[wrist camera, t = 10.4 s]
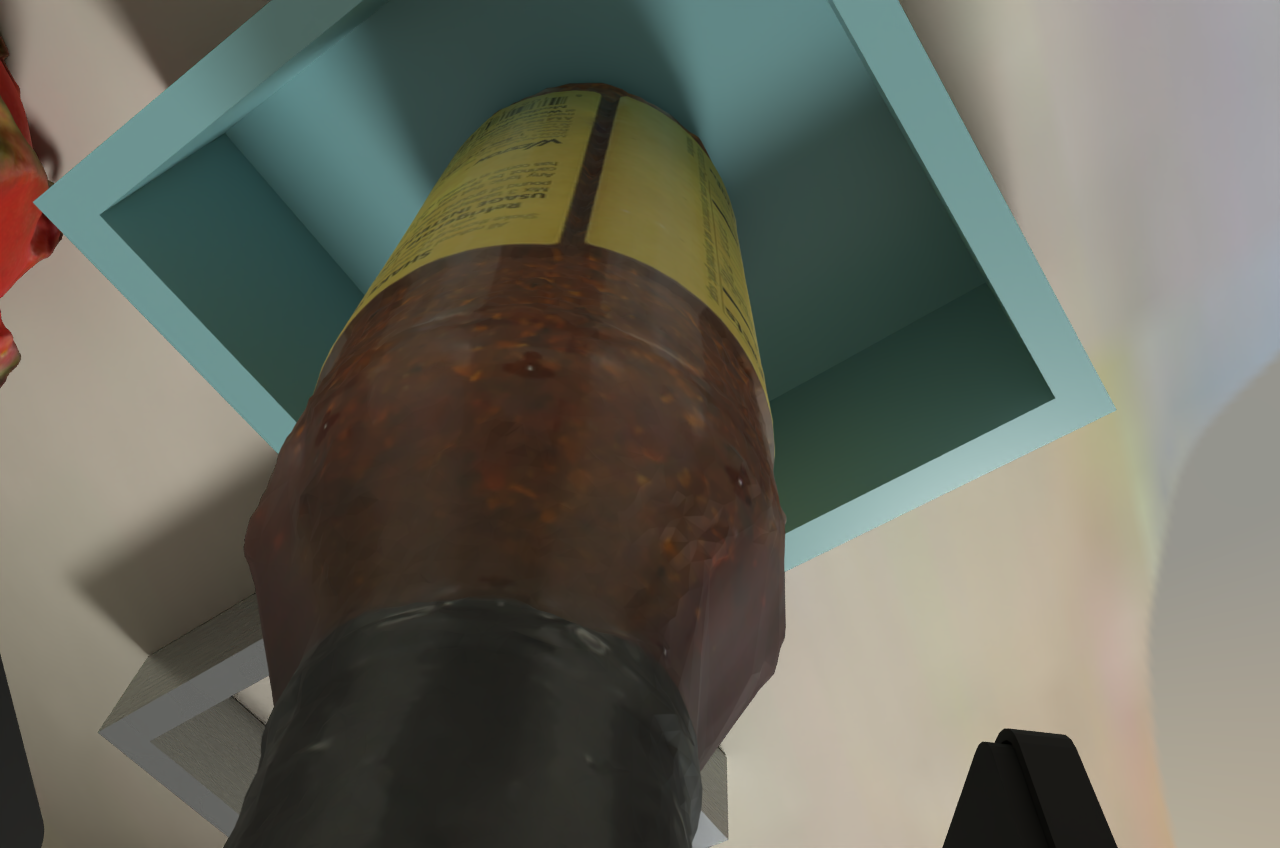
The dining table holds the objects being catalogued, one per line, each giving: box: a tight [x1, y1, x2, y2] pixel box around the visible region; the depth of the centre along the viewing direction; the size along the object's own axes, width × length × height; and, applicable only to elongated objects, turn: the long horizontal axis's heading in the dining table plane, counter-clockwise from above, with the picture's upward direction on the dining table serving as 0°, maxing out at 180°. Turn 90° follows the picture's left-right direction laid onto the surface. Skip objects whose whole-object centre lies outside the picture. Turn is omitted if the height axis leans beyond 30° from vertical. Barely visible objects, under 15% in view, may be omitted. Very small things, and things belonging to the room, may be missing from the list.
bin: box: [33, 0, 1116, 571], centre depth 21 cm, size 14×14×6 cm
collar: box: [98, 593, 728, 848], centre depth 30 cm, size 12×12×3 cm
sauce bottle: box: [223, 83, 786, 848], centre depth 14 cm, size 6×6×20 cm
